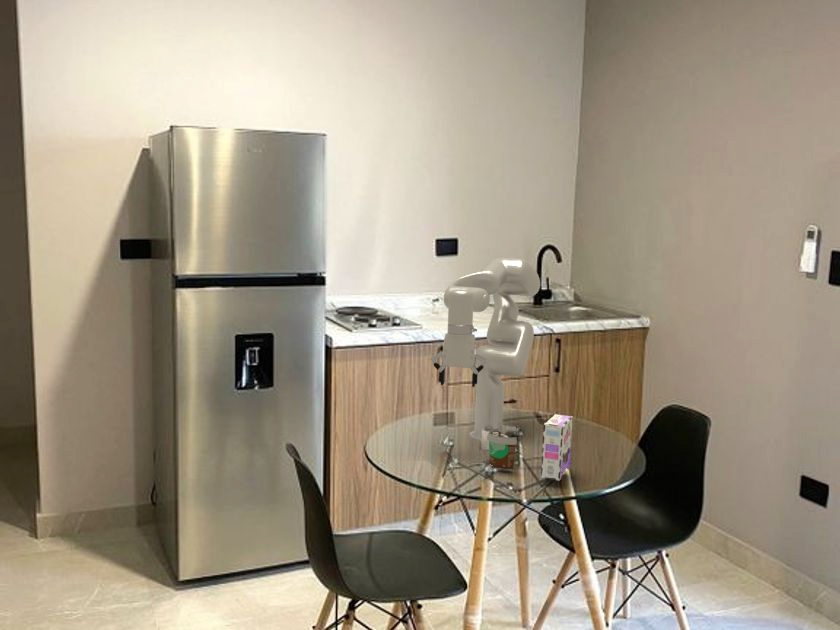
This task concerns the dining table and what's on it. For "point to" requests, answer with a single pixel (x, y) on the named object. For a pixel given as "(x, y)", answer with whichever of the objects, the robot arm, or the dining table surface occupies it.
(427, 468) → the dining table surface
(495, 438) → the food container
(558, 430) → the candy box
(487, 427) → the salt cellar
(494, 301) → the robot arm
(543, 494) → the dining table surface
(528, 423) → the dining table surface
